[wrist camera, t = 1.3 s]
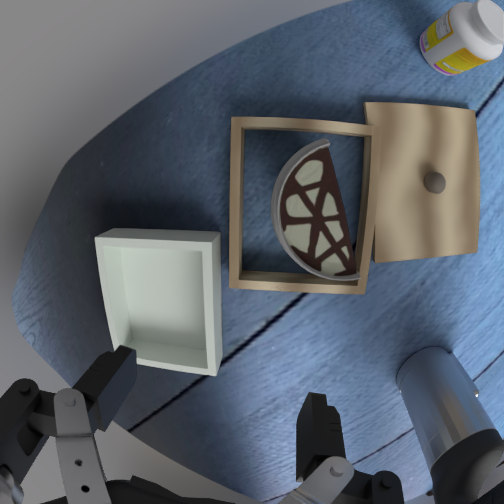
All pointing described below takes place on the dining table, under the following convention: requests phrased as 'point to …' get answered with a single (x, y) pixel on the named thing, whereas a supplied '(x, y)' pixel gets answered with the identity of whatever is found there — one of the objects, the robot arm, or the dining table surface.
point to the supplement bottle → (464, 37)
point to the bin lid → (425, 181)
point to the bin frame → (366, 215)
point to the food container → (313, 214)
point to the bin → (164, 296)
